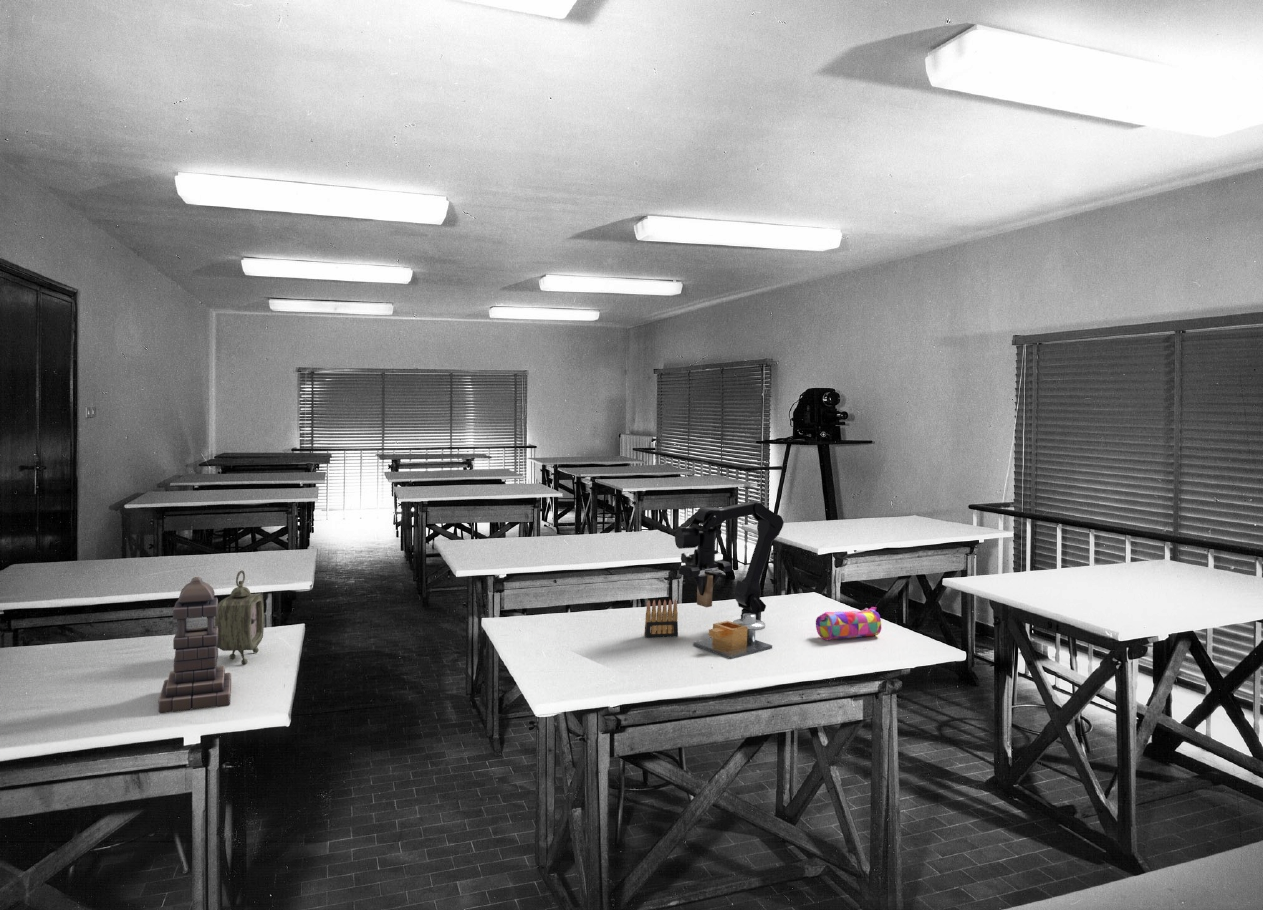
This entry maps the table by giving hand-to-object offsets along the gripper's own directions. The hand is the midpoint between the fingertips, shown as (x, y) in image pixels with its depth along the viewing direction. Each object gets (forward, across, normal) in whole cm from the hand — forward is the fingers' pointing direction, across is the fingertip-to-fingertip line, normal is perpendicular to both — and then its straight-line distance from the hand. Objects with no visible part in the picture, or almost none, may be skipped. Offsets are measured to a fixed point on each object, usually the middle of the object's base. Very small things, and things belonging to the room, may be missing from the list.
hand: (704, 594), depth 267 cm
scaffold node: (+13, +1, +16) cm, 21 cm away
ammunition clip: (+13, +14, -5) cm, 20 cm away
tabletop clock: (+13, +127, -55) cm, 139 cm away
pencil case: (+13, -37, +30) cm, 49 cm away
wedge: (+4, 0, 0) cm, 4 cm away
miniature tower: (+14, +143, -29) cm, 146 cm away
